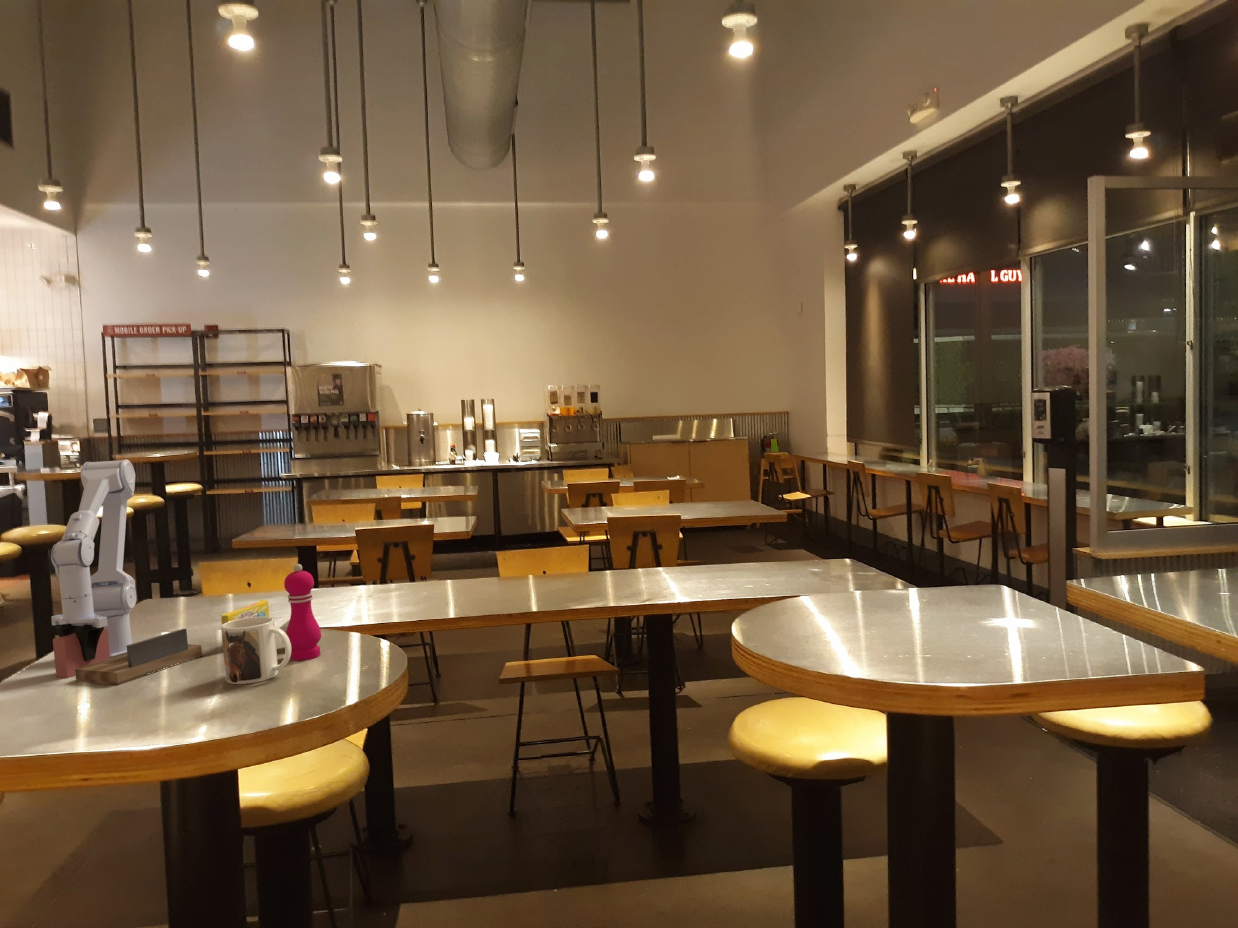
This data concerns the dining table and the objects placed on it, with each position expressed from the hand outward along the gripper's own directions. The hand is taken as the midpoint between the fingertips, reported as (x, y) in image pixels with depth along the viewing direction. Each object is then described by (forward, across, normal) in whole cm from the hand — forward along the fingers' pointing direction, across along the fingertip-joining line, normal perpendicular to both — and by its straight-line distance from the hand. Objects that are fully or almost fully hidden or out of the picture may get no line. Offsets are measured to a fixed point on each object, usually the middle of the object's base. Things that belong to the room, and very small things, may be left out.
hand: (82, 659), depth 200 cm
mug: (+3, +44, +4) cm, 44 cm away
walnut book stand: (+2, +12, +4) cm, 13 cm away
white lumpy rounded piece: (+3, +35, +25) cm, 43 cm away
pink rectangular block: (+2, 0, 0) cm, 2 cm away
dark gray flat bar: (0, +18, +4) cm, 18 cm away
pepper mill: (+3, +43, +19) cm, 47 cm away
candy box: (+3, +19, +27) cm, 33 cm away
